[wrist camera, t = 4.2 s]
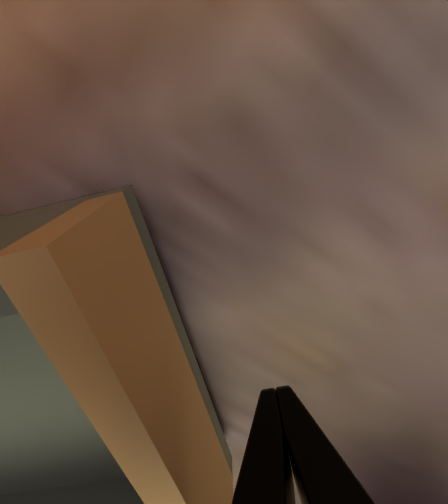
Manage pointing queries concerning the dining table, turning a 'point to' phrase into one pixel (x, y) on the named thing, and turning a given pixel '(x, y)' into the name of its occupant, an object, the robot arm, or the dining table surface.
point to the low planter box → (99, 366)
